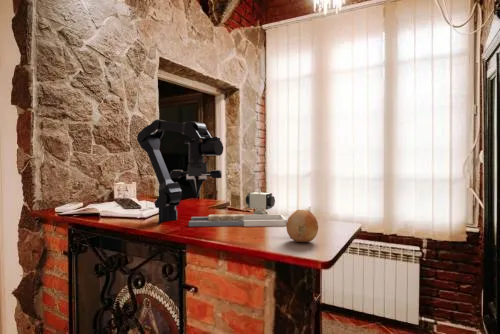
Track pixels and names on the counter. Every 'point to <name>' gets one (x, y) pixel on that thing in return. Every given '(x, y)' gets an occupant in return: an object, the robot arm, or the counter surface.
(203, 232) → the counter surface
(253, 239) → the counter surface
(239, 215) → the block
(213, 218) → the block
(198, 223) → the slot rail
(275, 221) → the tray
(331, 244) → the counter surface
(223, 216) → the block
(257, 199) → the pneumatic valve
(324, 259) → the counter surface
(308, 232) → the onion
